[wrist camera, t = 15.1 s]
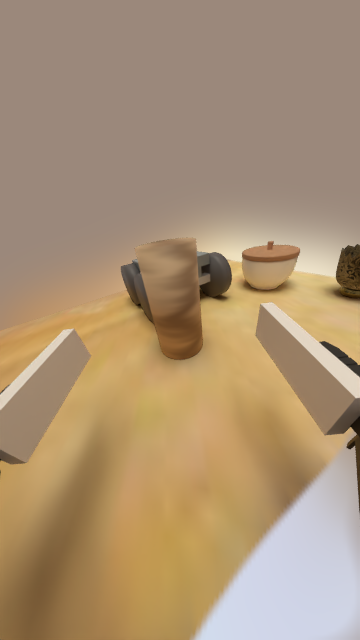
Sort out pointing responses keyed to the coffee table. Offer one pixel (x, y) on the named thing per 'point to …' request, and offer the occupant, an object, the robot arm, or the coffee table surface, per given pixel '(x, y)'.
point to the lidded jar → (269, 265)
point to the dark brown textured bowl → (349, 271)
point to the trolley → (210, 274)
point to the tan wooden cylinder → (173, 294)
